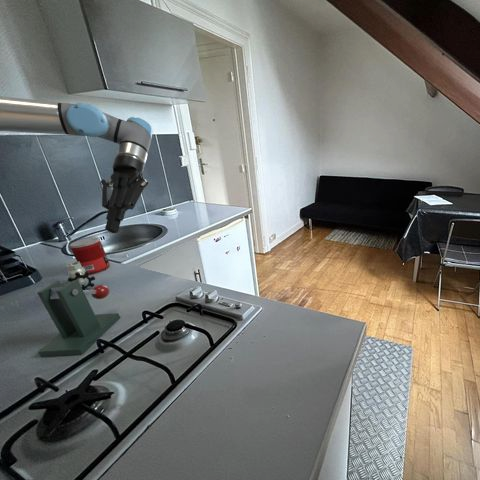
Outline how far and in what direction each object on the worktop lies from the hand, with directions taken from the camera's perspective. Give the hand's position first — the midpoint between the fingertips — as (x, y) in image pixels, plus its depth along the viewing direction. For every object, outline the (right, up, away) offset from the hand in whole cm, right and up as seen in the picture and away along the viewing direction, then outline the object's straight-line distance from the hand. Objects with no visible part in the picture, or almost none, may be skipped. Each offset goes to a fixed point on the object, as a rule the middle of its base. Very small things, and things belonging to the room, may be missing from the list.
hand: (111, 230), depth 72 cm
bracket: (+2, -25, -10) cm, 27 cm away
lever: (+1, -17, -10) cm, 20 cm away
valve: (-19, -17, +12) cm, 28 cm away
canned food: (-23, -13, +22) cm, 34 cm away
